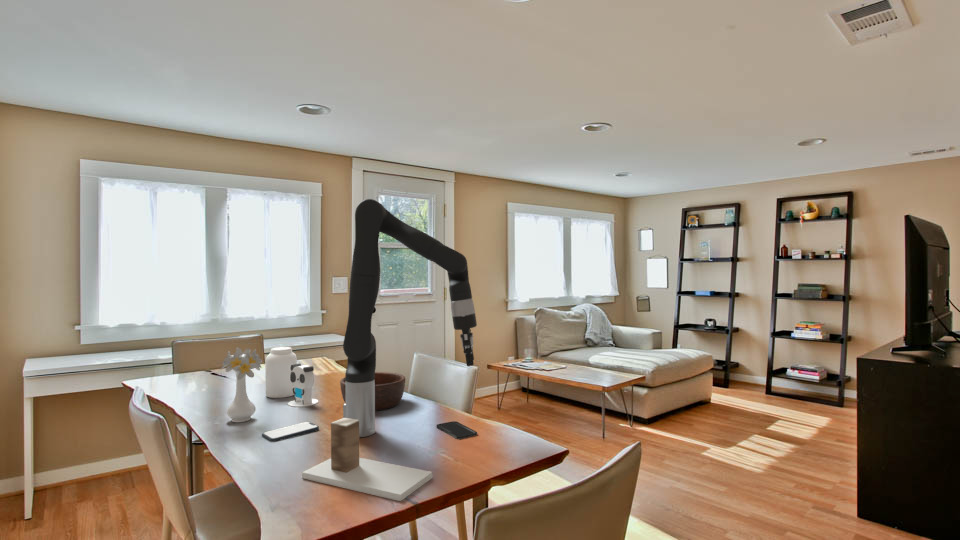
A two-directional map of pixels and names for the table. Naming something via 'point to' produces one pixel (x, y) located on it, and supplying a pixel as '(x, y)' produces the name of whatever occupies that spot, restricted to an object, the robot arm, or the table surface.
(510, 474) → the table surface
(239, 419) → the flower vase
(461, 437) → the phone
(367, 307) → the robot arm
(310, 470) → the white board
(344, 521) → the table surface
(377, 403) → the wooden bowl
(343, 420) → the walnut block
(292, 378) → the panda figurine
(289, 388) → the white jar
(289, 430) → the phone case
